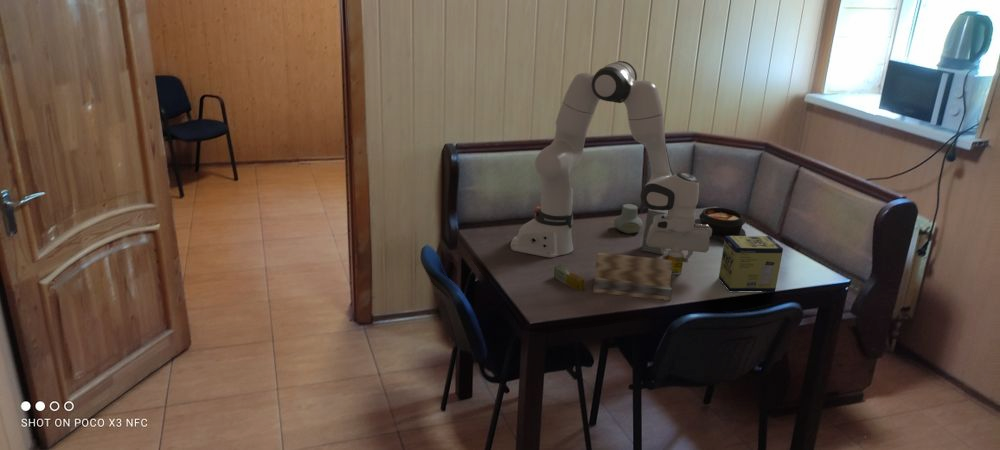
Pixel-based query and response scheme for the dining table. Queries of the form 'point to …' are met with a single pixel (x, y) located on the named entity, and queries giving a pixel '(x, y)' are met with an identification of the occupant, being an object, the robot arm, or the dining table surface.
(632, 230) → the air freshener
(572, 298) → the dining table surface
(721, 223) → the casserole
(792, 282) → the dining table surface
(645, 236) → the skincare box
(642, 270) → the cleat board
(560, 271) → the medication box
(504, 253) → the dining table surface
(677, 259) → the supplement bottle
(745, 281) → the protein box
